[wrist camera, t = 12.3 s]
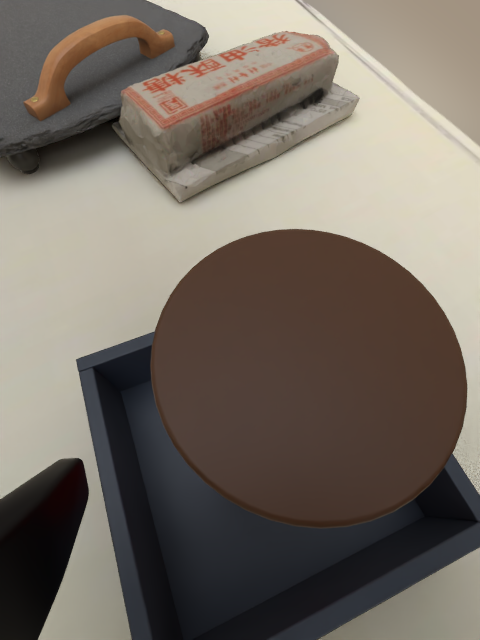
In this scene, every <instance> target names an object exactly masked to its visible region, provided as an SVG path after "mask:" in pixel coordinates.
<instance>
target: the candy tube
mask: <svg viewBox="0 0 480 640" xmlns="http://www.w3.org/2000/svg"><path fill="white" fill-rule="evenodd" d="M150 366H151V381H152V389H153V393H154V398H155V403H156V407H157V410H158V412H159V415H160V418H161V421H162V423H163V426H164V428H165V430H166V432H167V434H168V435H169V437H170V439H171V441H172V443H173V445H174V447H175V448H176V449H177V451H178V452H179V453H180V455H181V456H182V458H183V459H184V460H185V462H186V463H187V464H188V466H189V467H190V468H191V469H192V470H193V471H194V472H195V473H196V474H197V475H198V476H199V477H200V478H201V479H202V480H203V481H204V482H205V483H206V484H207V485H209V486H210V487H211V488H212V489H214V490H215V491H216V492H217V493H219V494H220V495H221V496H223V497H224V498H225V499H227V500H229V501H231V502H232V503H234V504H236V505H237V506H239V507H241V508H243V509H244V510H246V511H248V512H251V513H253V514H256V515H258V516H261V517H263V518H266V519H268V520H271V521H275V522H280V523H284V524H288V525H292V526H297V527H309V528H320V529H322V528H338V527H348V526H353V525H357V524H361V523H366V522H370V521H373V520H375V519H378V518H380V517H383V516H385V515H388V514H390V513H393V512H394V511H396V510H397V509H399V508H401V507H402V506H404V505H406V504H407V503H409V502H411V501H412V500H413V499H415V498H416V497H417V496H418V495H419V494H420V493H421V492H423V491H424V490H425V489H426V488H427V487H428V486H429V485H430V484H431V483H432V482H433V481H434V479H435V478H436V477H437V476H438V474H439V473H440V472H441V471H442V470H443V468H444V467H445V465H446V463H447V461H448V460H449V458H450V456H451V454H452V453H453V451H454V449H455V446H456V444H457V441H458V438H459V436H460V433H461V430H462V427H463V422H464V417H465V412H466V405H467V380H466V370H465V364H464V360H463V356H462V352H461V348H460V345H459V343H458V340H457V338H456V335H455V332H454V330H453V328H452V326H451V324H450V322H449V320H448V319H447V317H446V315H445V313H444V312H443V310H442V309H441V307H440V306H439V304H438V303H437V301H436V300H435V298H434V297H433V296H432V295H431V294H430V293H429V291H428V290H427V289H426V288H425V287H424V286H423V284H422V283H421V282H420V281H418V280H417V279H416V278H415V277H414V276H413V275H412V274H411V273H410V272H409V271H408V270H406V269H405V268H404V267H402V266H401V265H400V264H398V263H397V262H396V261H394V260H393V259H391V258H390V257H388V256H386V255H385V254H383V253H381V252H380V251H378V250H376V249H374V248H372V247H370V246H368V245H366V244H363V243H361V242H358V241H356V240H353V239H350V238H347V237H344V236H340V235H336V234H332V233H328V232H322V231H315V230H303V229H287V230H275V231H268V232H262V233H258V234H254V235H250V236H247V237H244V238H241V239H239V240H236V241H233V242H231V243H229V244H227V245H225V246H223V247H221V248H219V249H217V250H216V251H214V252H213V253H211V254H210V255H208V256H207V257H205V258H204V259H203V260H201V261H200V262H199V263H198V264H197V265H195V266H194V267H193V268H192V269H191V270H190V271H189V272H188V273H187V274H186V275H185V277H184V278H183V279H182V280H181V281H180V282H179V284H178V285H177V286H176V288H175V289H174V291H173V292H172V294H171V295H170V297H169V299H168V301H167V303H166V305H165V306H164V308H163V310H162V312H161V315H160V318H159V321H158V324H157V326H156V329H155V334H154V339H153V343H152V351H151V365H150Z"/></svg>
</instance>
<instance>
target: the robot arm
mask: <svg viewBox="0 0 480 640" xmlns="http://www.w3.org/2000/svg"><path fill="white" fill-rule="evenodd" d="M88 496H89V489H88V484H87V478H86V473H85V468H84V464H83V461H82V460H81V459H79V458H70V459H61V460H58V461H57V462H55V463H54V464H52V465H51V466H49V467H48V468H46V469H45V470H43V471H42V472H40V473H39V474H37V475H36V476H34V477H33V478H31V479H30V480H28V481H27V482H26V483H24V484H23V485H21V486H20V487H18V488H17V489H15V490H14V491H12V492H11V493H9V494H8V495H6V496H5V497H3V498H2V499H0V640H38V638H39V635H40V633H41V631H42V628H43V626H44V623H45V621H46V619H47V616H48V614H49V612H50V609H51V607H52V604H53V602H54V600H55V597H56V595H57V592H58V590H59V587H60V585H61V582H62V579H63V577H64V574H65V571H66V568H67V565H68V561H69V558H70V555H71V552H72V549H73V546H74V543H75V539H76V536H77V533H78V530H79V527H80V524H81V520H82V517H83V514H84V511H85V508H86V505H87V501H88Z"/></svg>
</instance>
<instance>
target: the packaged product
mask: <svg viewBox="0 0 480 640" xmlns="http://www.w3.org/2000/svg"><path fill="white" fill-rule="evenodd" d="M338 59H339V55H337V54H336V52H335V51H334V50H333V49H331V48H330V46H329V44H328V42H327V41H326V40H325V39H323V38H322V37H320V36H318V35H308V34H300V33H296V32H288V31H285V32H279V33H274V34H272V35H269V36H266V37H262V38H260V39H257V40H255V41H252V42H251V43H247V44H243V45H241V46H238V47H236V48H233V49H230V50H228V51H226V52H223V53H220V54H218V55H215V56H211V57H208V58H205V59H203V60H200V61H198V62H195V63H192V64H188V65H186V66H183V67H180V68H177V69H175V70H173V71H169V72H167V73H164V74H161V75H159V76H156V77H153V78H150V79H147V80H145V81H143V82H140V83H135V84H133V85H132V86H131V85H130V86H129V87H127V88H126V89H124V90H122V91H121V100H122V105H123V106H122V107H121V116H120V120H119V121H118V122H115V123H113V124H112V127H113V129H114V130H115V132H116V133H117V134H118V136H119V137H120V138H121V139H122V140H123V141H124V142H125V143H126V144H127V146H128V147H129V148H130V149H131V150H132V151H133V152H134V153H135V154H136V155H137V157H138V158H139V159H140V160H141V161H142V162H143V163H144V164H145V165H146V167H147V168H148V169H149V170H150V171H151V172H152V173H153V174H154V175H155V176H156V177H157V178H158V179H159V180H160V181H161V183H162V184H163V185H164V186H165V187H166V188H167V189H168V190H169V191H170V192H171V193H172V194H173V195H174V196H175V197H176V198H177V199H178V201H179V202H182V201H184V200H186V199H188V198H190V197H192V196H193V195H195V194H197V193H199V192H201V191H203V190H205V189H207V188H208V187H210V186H212V185H214V184H216V183H219V182H221V181H223V180H225V179H227V178H229V177H232V176H234V175H236V174H238V173H240V172H242V171H245V170H247V169H249V168H251V167H254V166H256V165H258V164H261V163H263V162H265V161H268V160H270V159H272V158H275V157H277V156H278V155H280V154H282V153H283V152H285V151H286V150H288V149H290V148H291V147H293V146H294V145H296V144H298V143H299V142H301V141H302V140H304V139H306V138H308V137H310V136H312V135H314V134H316V133H318V132H319V131H321V130H323V129H325V128H327V127H329V126H331V125H333V124H335V123H336V122H338V121H340V120H342V119H344V118H346V117H348V116H350V115H352V113H353V111H354V109H355V107H356V105H357V103H358V101H359V99H360V98H359V97H358V96H357V95H355V94H354V93H352V92H350V91H348V90H346V89H344V88H342V87H340V86H339V85H337V84H335V83H333V82H332V81H333V78H334V75H335V72H336V69H337V65H338Z"/></svg>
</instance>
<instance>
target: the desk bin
mask: <svg viewBox="0 0 480 640" xmlns="http://www.w3.org/2000/svg"><path fill="white" fill-rule="evenodd" d="M154 334H155V332H152V333H149V334H147V335H144V336H141V337H138V338H135V339H132V340H130V341H127V342H124V343H121V344H118V345H115V346H113V347H110V348H107V349H104V350H101V351H98V352H96V353H93V354H90V355H87V356H84V357H81V358H79V359H76V362H77V367H78V371H79V376H80V381H81V386H82V391H83V396H84V401H85V406H86V411H87V416H88V421H89V426H90V431H91V436H92V441H93V446H94V451H95V456H96V461H97V466H98V471H99V476H100V481H101V486H102V491H103V496H104V501H105V506H106V512H107V517H108V522H109V527H110V532H111V537H112V542H113V547H114V552H115V557H116V562H117V567H118V572H119V577H120V582H121V587H122V592H123V597H124V602H125V607H126V612H127V617H128V622H129V627H130V632H131V637H132V640H317V639H319V638H321V637H323V636H324V635H326V634H328V633H330V632H331V631H333V630H335V629H337V628H338V627H340V626H342V625H344V624H345V623H347V622H349V621H351V620H352V619H354V618H356V617H358V616H359V615H361V614H363V613H365V612H367V611H368V610H370V609H372V608H374V607H375V606H377V605H379V604H381V603H382V602H384V601H386V600H388V599H389V598H391V597H393V596H395V595H396V594H398V593H400V592H402V591H403V590H405V589H407V588H409V587H410V586H412V585H414V584H416V583H418V582H419V581H421V580H423V579H425V578H426V577H428V576H430V575H432V574H433V573H435V572H437V571H439V570H440V569H442V568H444V567H446V566H447V565H449V564H451V563H453V562H454V561H456V560H458V559H460V558H461V557H463V556H465V555H467V554H469V553H470V552H472V551H474V550H476V549H477V548H479V547H480V495H479V494H478V492H477V490H476V489H475V487H474V486H473V484H472V483H471V481H470V480H469V478H468V477H467V475H466V474H465V472H464V471H463V469H462V468H461V466H460V465H459V463H458V461H457V460H456V458H455V457H454V455H453V454H451V456H450V458H449V460H448V461H447V463H446V465H445V467H444V468H443V470H442V471H441V472H440V473H439V474H438V476H437V477H436V478H435V479H434V481H433V482H432V483H431V484H430V485H429V486H428V487H427V488H426V489H425V490H424V491H423V492H421V493H420V494H419V495H418V496H417V497H416V498H415V499H413V500H412V501H411V502H409V503H407V504H406V505H404V506H402V507H401V508H399V509H397V510H396V511H394V512H393V513H390V514H388V515H385V516H383V517H380V518H378V519H375V520H373V521H370V522H366V523H361V524H357V525H353V526H348V527H338V528H322V529H320V528H309V527H297V526H292V525H288V524H284V523H280V522H275V521H271V520H268V519H266V518H263V517H261V516H258V515H256V514H253V513H251V512H248V511H246V510H244V509H243V508H241V507H239V506H237V505H236V504H234V503H232V502H231V501H229V500H227V499H225V498H224V497H223V496H221V495H220V494H219V493H217V492H216V491H215V490H214V489H212V488H211V487H210V486H209V485H207V484H206V483H205V482H204V481H203V480H202V479H201V478H200V477H199V476H198V475H197V474H196V473H195V472H194V471H193V470H192V469H191V468H190V467H189V466H188V464H187V463H186V462H185V460H184V459H183V458H182V456H181V455H180V453H179V452H178V451H177V449H176V448H175V447H174V445H173V443H172V441H171V439H170V437H169V435H168V434H167V432H166V430H165V428H164V426H163V423H162V421H161V418H160V415H159V412H158V410H157V407H156V403H155V398H154V393H153V389H152V381H151V366H150V365H151V351H152V343H153V339H154Z"/></svg>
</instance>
